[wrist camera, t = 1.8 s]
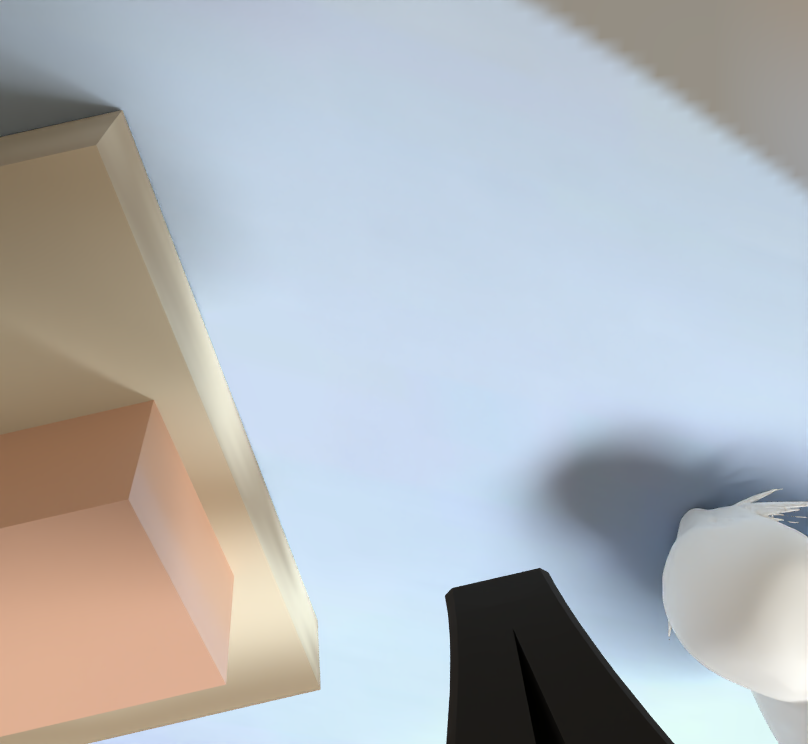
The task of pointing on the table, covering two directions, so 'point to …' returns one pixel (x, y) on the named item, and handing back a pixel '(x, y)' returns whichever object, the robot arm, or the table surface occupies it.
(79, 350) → the thin cream square panel
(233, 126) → the table surface
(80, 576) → the tile
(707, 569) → the white figurine
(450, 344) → the table surface
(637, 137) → the table surface
